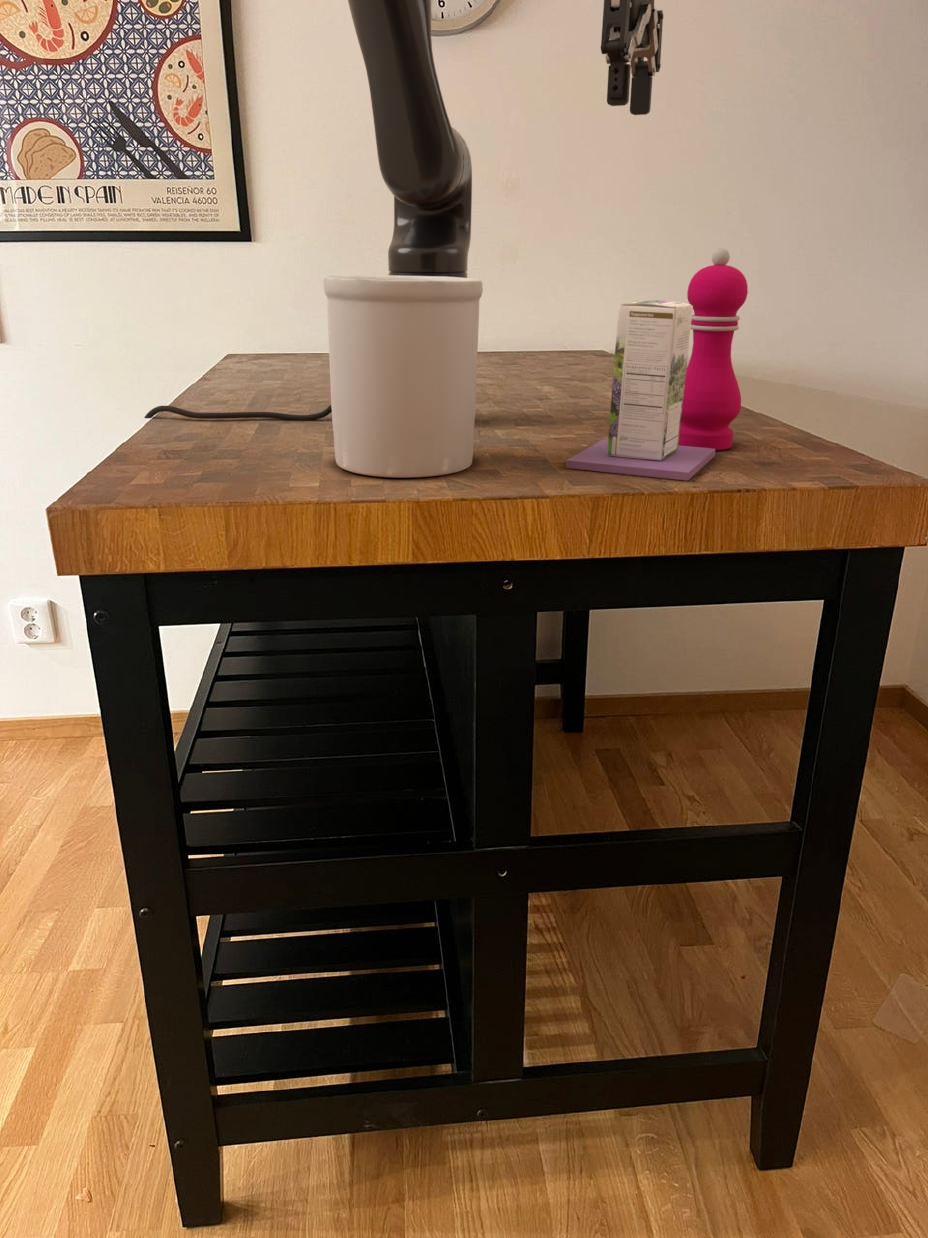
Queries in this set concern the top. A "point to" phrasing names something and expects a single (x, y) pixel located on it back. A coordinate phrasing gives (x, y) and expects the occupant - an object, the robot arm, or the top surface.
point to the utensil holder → (403, 372)
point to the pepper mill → (712, 356)
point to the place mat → (643, 462)
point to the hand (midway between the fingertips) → (628, 109)
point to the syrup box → (649, 378)
